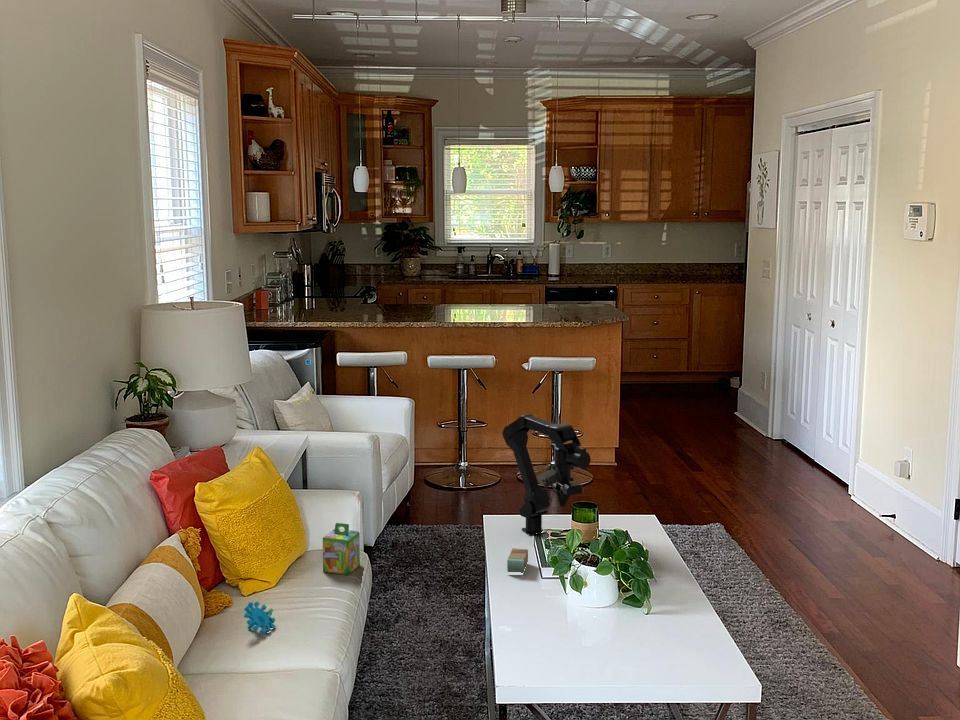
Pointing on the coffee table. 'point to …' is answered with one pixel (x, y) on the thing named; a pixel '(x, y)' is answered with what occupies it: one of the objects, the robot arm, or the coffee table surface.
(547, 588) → the coffee table surface
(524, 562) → the block
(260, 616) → the gear
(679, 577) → the coffee table surface
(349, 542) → the chalk box
